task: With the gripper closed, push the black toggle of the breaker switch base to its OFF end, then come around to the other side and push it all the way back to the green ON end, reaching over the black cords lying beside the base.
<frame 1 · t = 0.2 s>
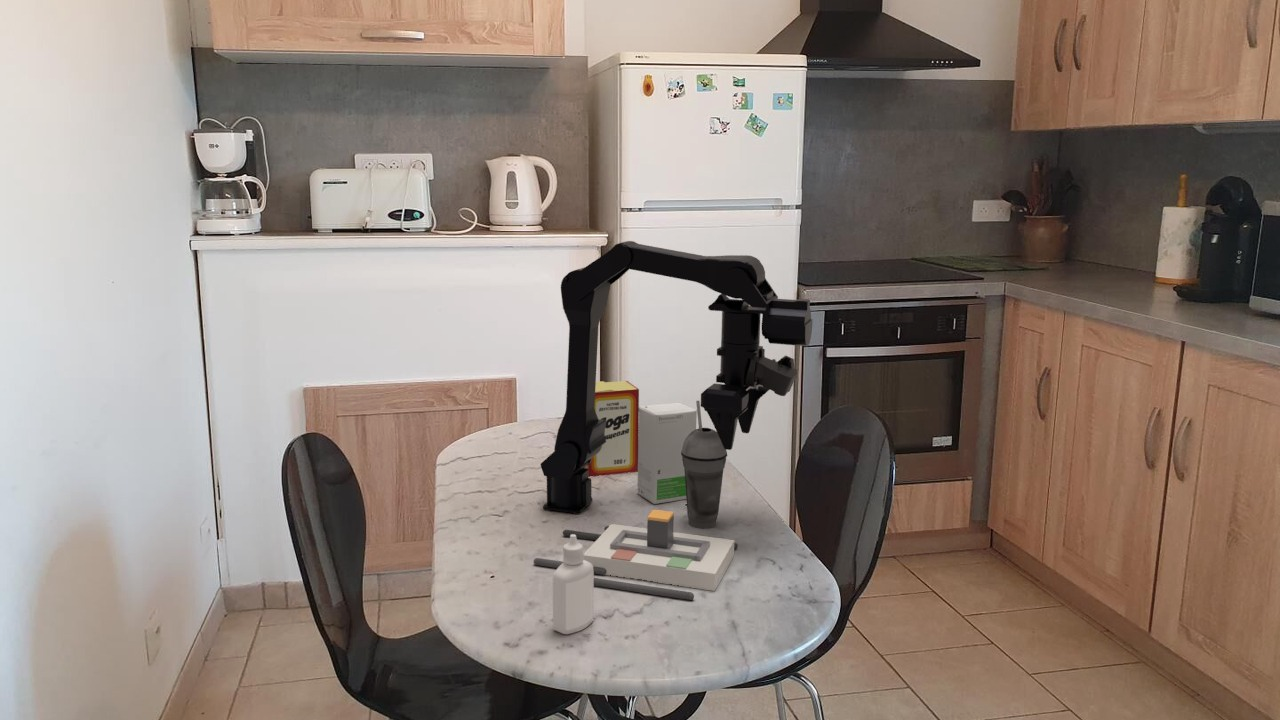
hand: (737, 440, 149), 14 cm above the table, tool pointing down, fingers open, 9 cm apart
eye dropper bottle: (573, 626, 122), on the table
breaker switch base: (659, 563, 140), on the table
skincare box: (665, 496, 167), on the table
beverage cup: (702, 524, 155), on the table
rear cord: (669, 540, 148), on the table
baking soda box: (608, 469, 181), on the table
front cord: (632, 590, 131), on the table
breaker toggle: (660, 530, 139), point 5 cm above the table, slide at 4.0 cm
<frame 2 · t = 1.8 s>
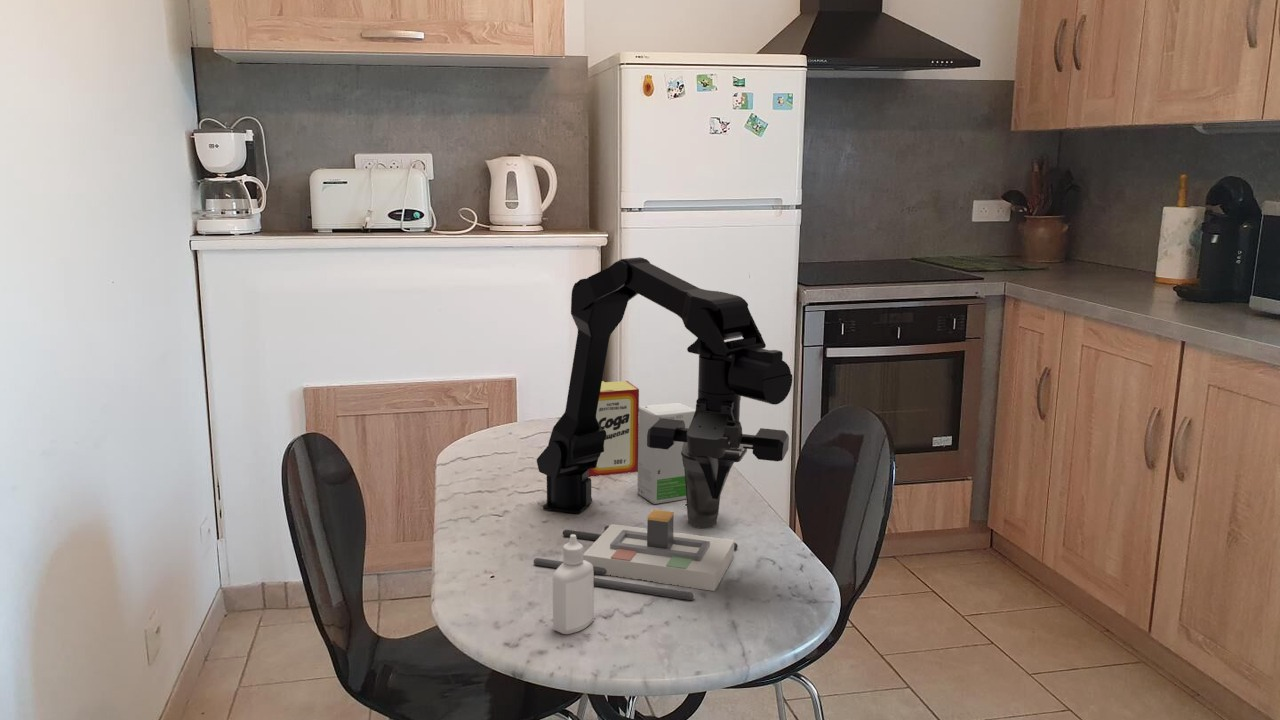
hand: (715, 498, 135), 11 cm above the table, tool pointing down, fingers closed
nothing on the table moved.
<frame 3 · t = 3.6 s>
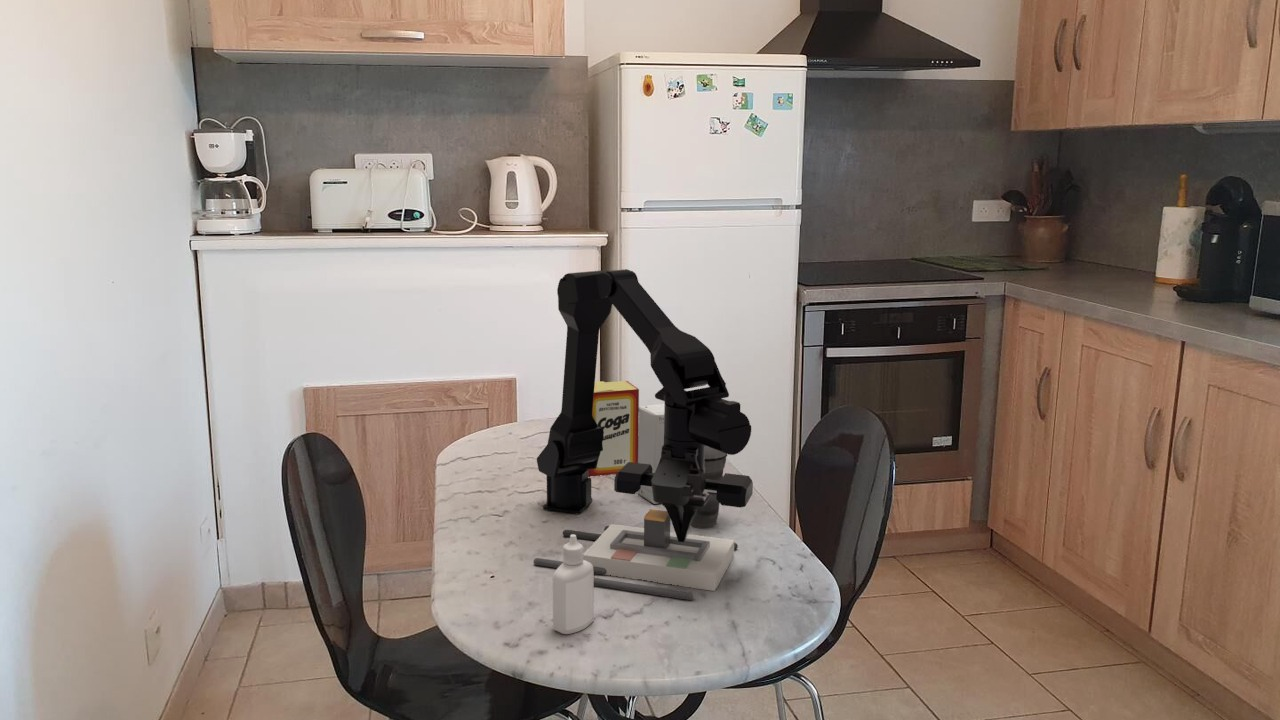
hand: (682, 541, 138), 4 cm above the table, tool pointing down, fingers closed
breaker toggle: (657, 530, 139), point 5 cm above the table, slide at 3.5 cm, touching gripper
everything else where it was.
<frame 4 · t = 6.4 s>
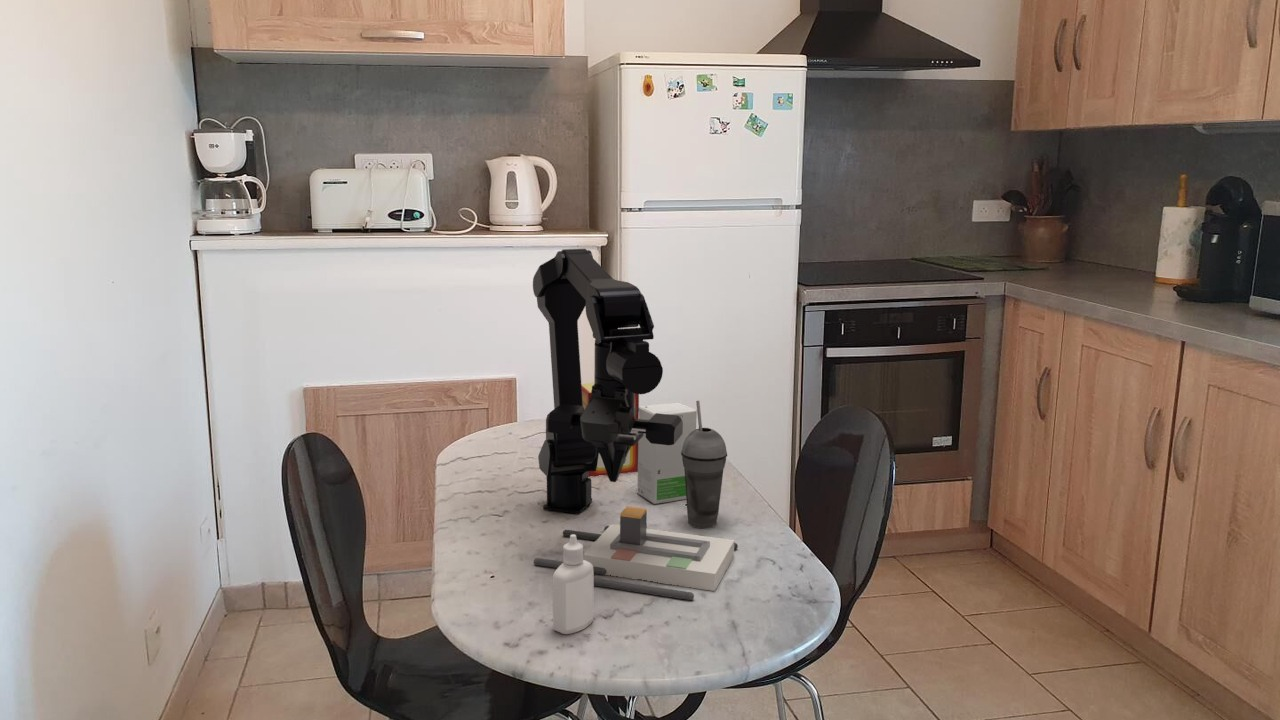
hand: (613, 481, 140), 12 cm above the table, tool pointing down, fingers closed
breaker toggle: (633, 527, 140), point 5 cm above the table, slide at 0.0 cm
everything else where it was.
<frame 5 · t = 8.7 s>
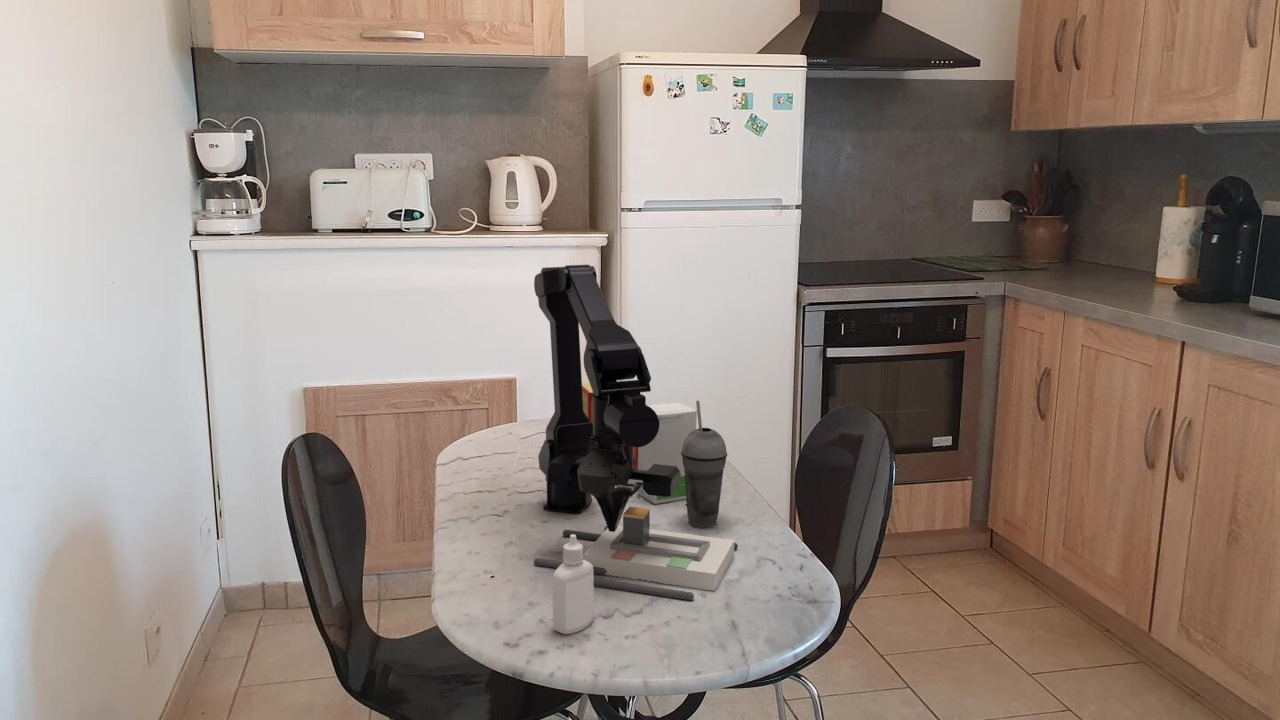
hand: (612, 530, 141), 4 cm above the table, tool pointing down, fingers closed
breaker toggle: (636, 527, 140), point 5 cm above the table, slide at 0.4 cm, touching gripper
everything else where it was.
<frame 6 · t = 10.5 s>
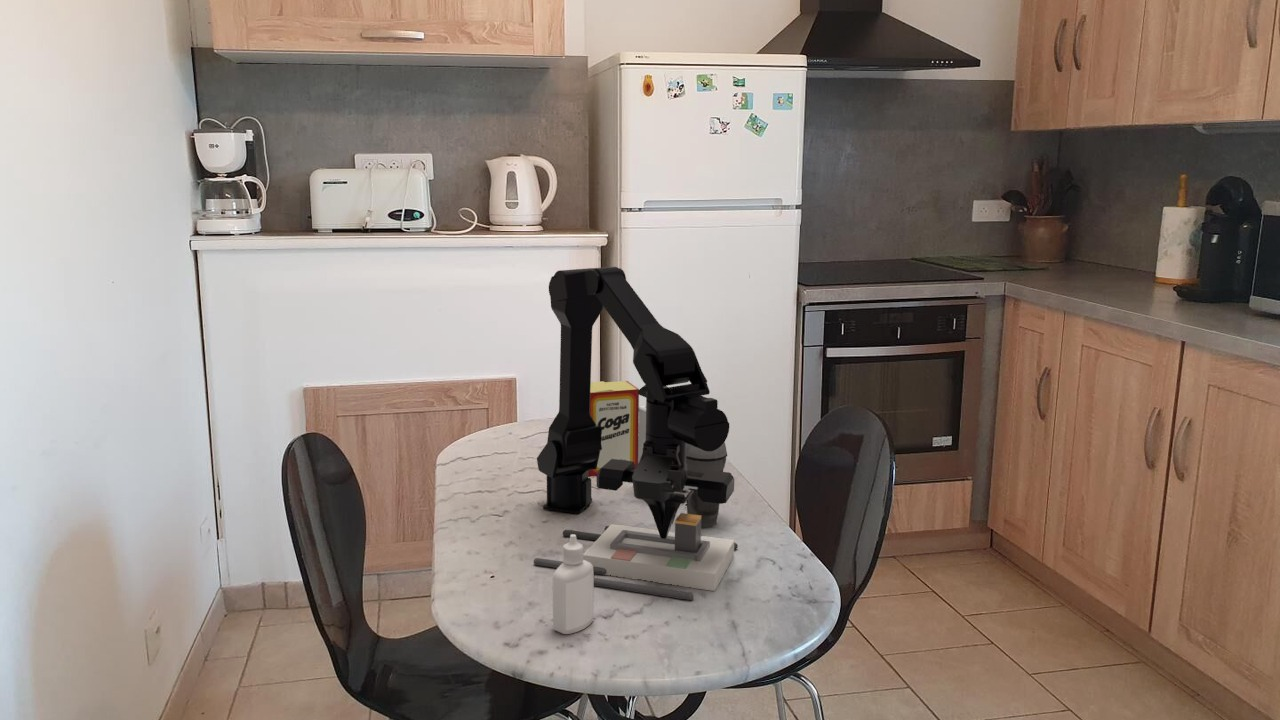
hand: (664, 537, 139), 4 cm above the table, tool pointing down, fingers closed
breaker toggle: (688, 534, 138), point 5 cm above the table, slide at 8.1 cm, touching gripper
everything else where it was.
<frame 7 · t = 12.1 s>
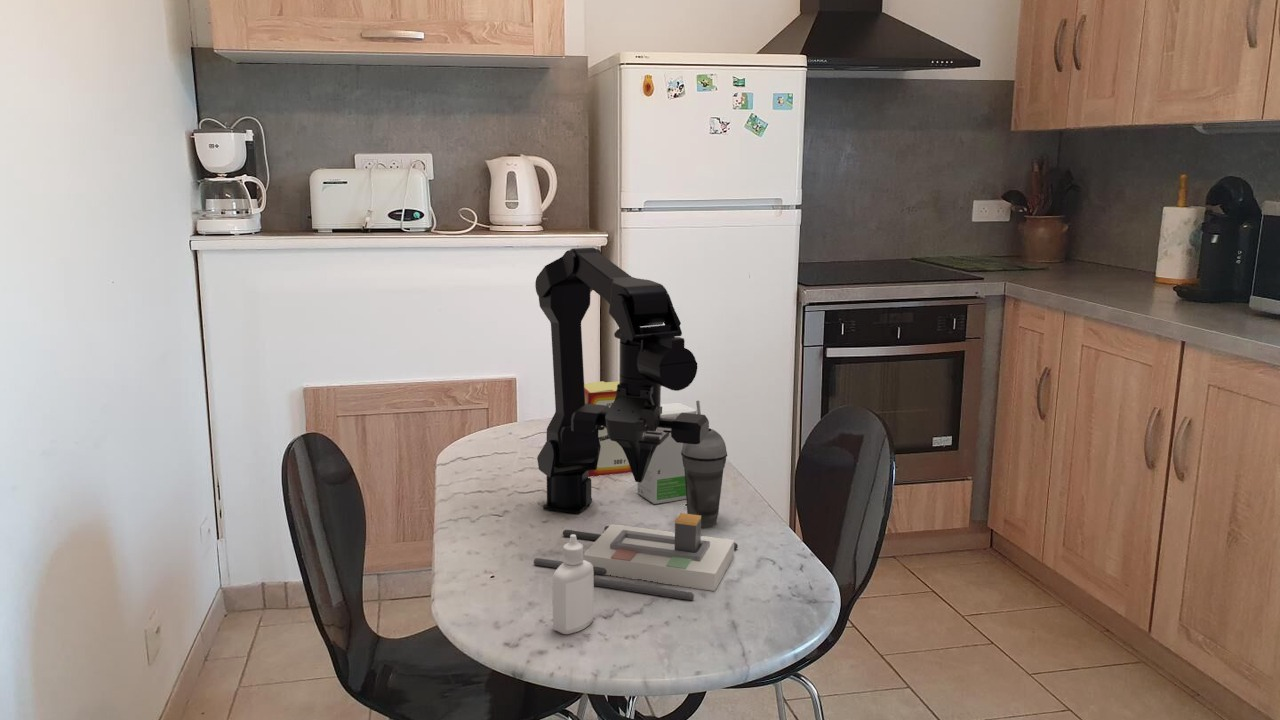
hand: (639, 481, 139), 12 cm above the table, tool pointing down, fingers closed
breaker toggle: (687, 534, 138), point 5 cm above the table, slide at 8.0 cm
everything else where it was.
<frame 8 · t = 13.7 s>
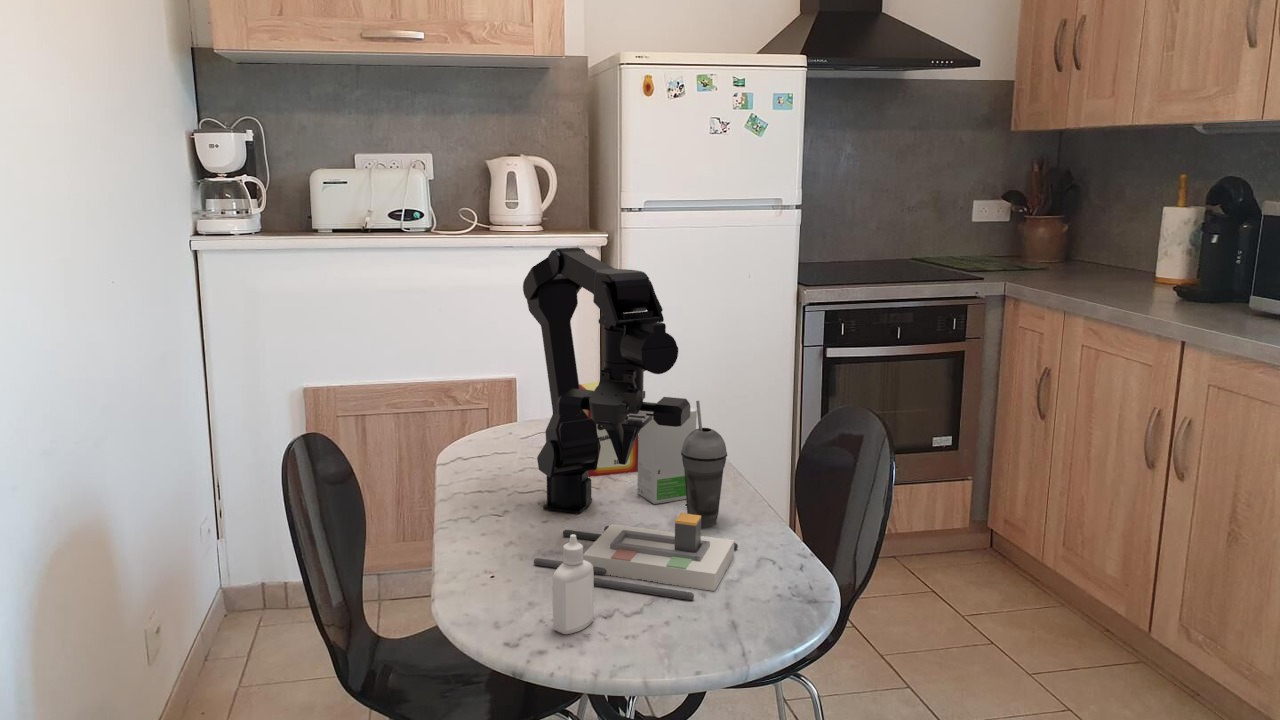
hand: (623, 463, 143), 13 cm above the table, tool pointing down, fingers closed
nothing on the table moved.
at the end: breaker toggle slide at 8.0 cm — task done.
